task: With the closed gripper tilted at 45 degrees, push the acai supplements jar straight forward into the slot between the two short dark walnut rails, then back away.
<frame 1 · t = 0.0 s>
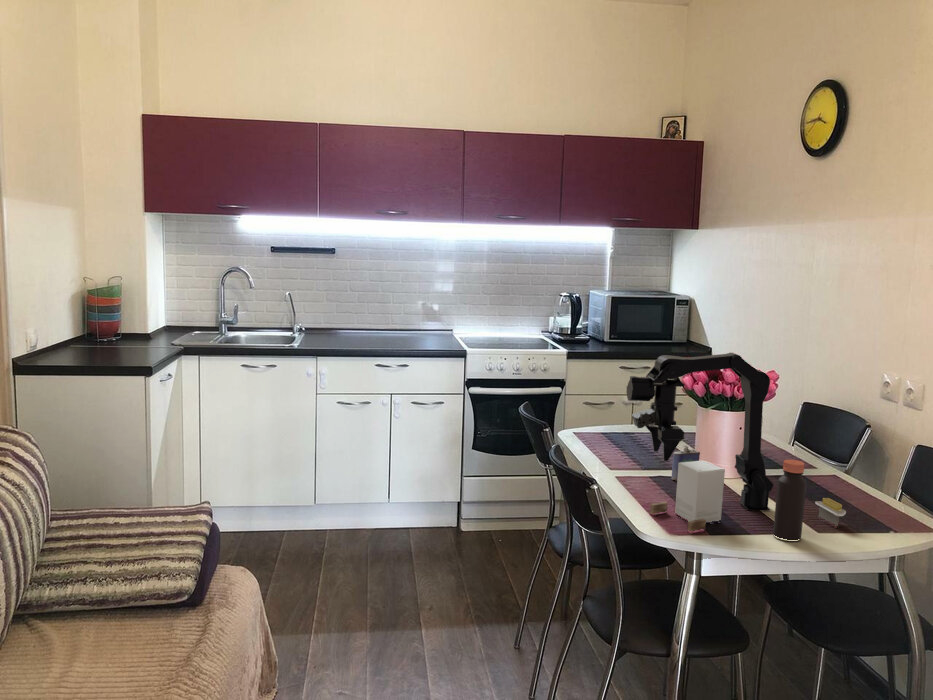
hand: (660, 456, 222), 15 cm above the table, tool pointing down, fingers open, 9 cm apart
supplement box: (697, 519, 216), on the table
walnut slot: (676, 522, 212), on the table
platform: (830, 525, 216), on the table
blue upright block: (684, 479, 250), on the table
bottle: (786, 538, 205), on the table
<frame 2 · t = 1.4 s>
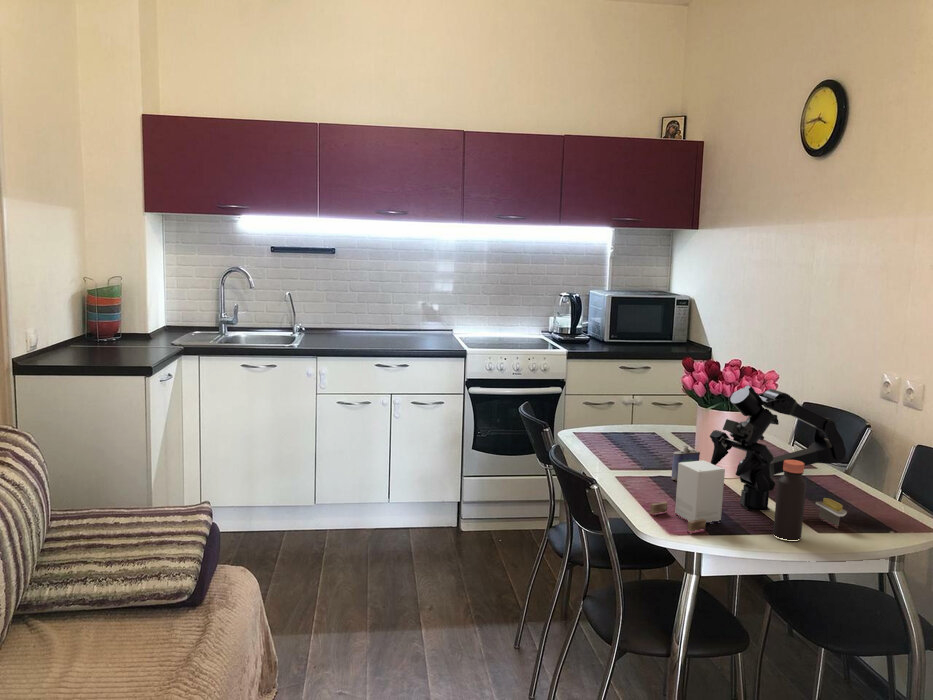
hand: (723, 470, 218), 12 cm above the table, tool tilted 45°, fingers open, 9 cm apart
nothing on the table moved.
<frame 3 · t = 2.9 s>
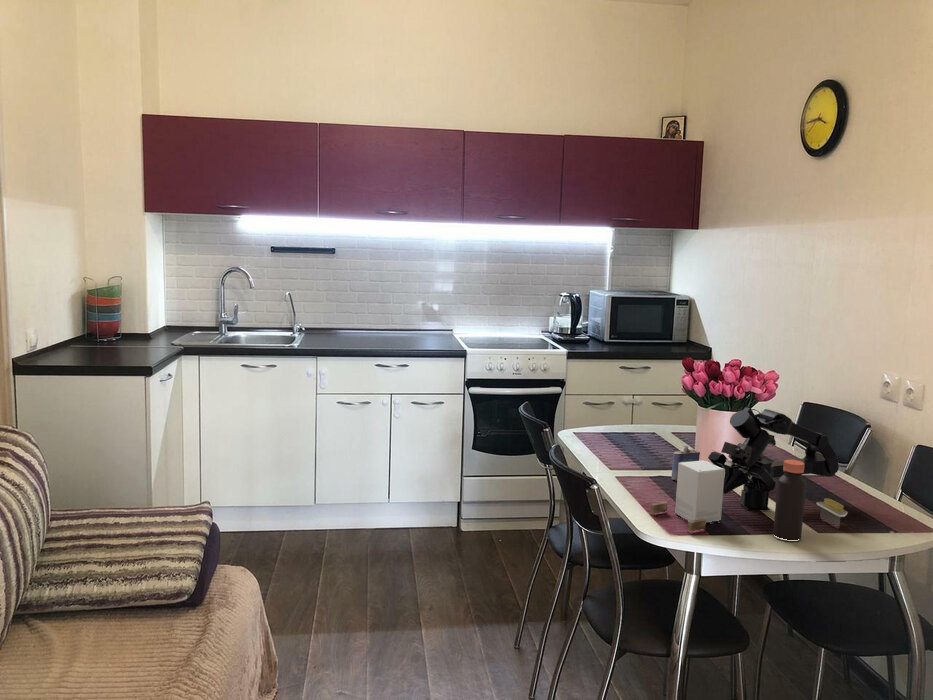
hand: (723, 492, 219), 6 cm above the table, tool tilted 40°, fingers closed
nothing on the table moved.
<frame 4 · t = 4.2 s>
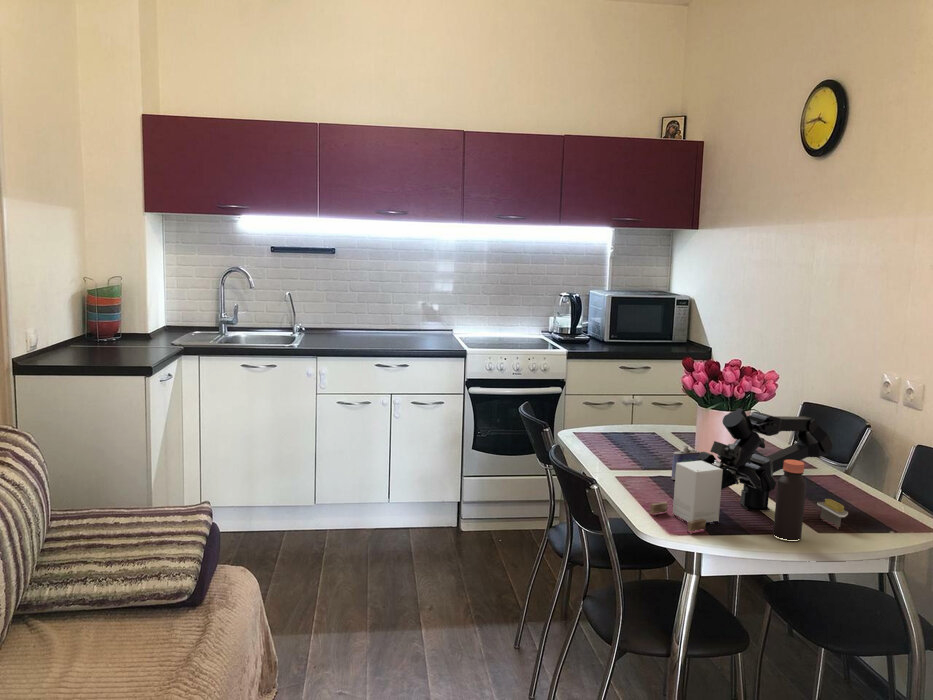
hand: (710, 492, 217), 7 cm above the table, tool tilted 45°, fingers closed
supplement box: (695, 519, 216), on the table, touching gripper
everything else where it was.
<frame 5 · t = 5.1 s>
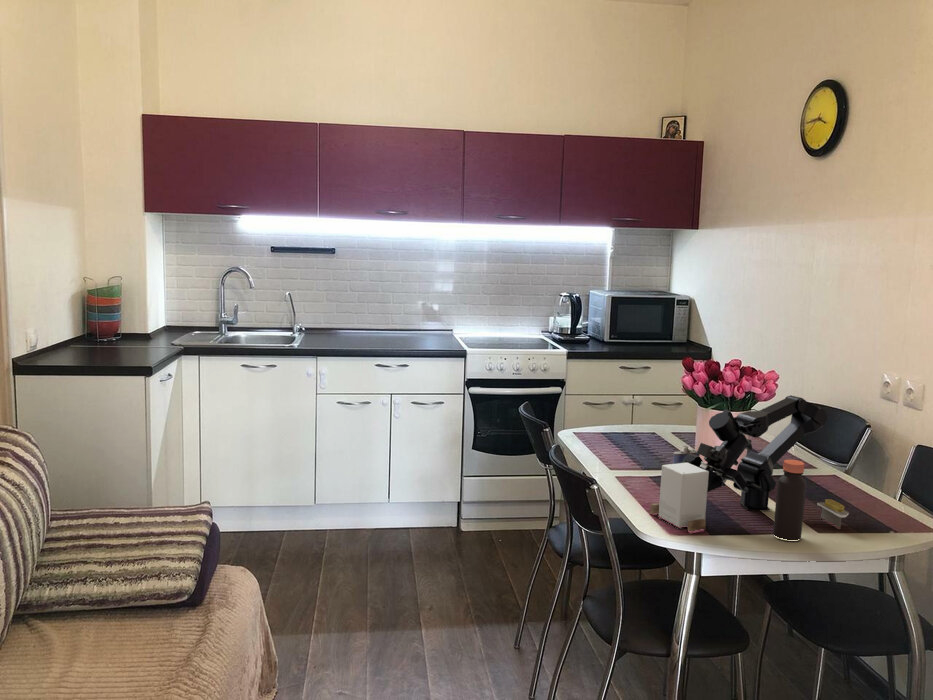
hand: (696, 495, 214), 7 cm above the table, tool tilted 45°, fingers closed, pressing on supplement box
supplement box: (681, 522, 213), on the table, touching gripper
everything else where it was.
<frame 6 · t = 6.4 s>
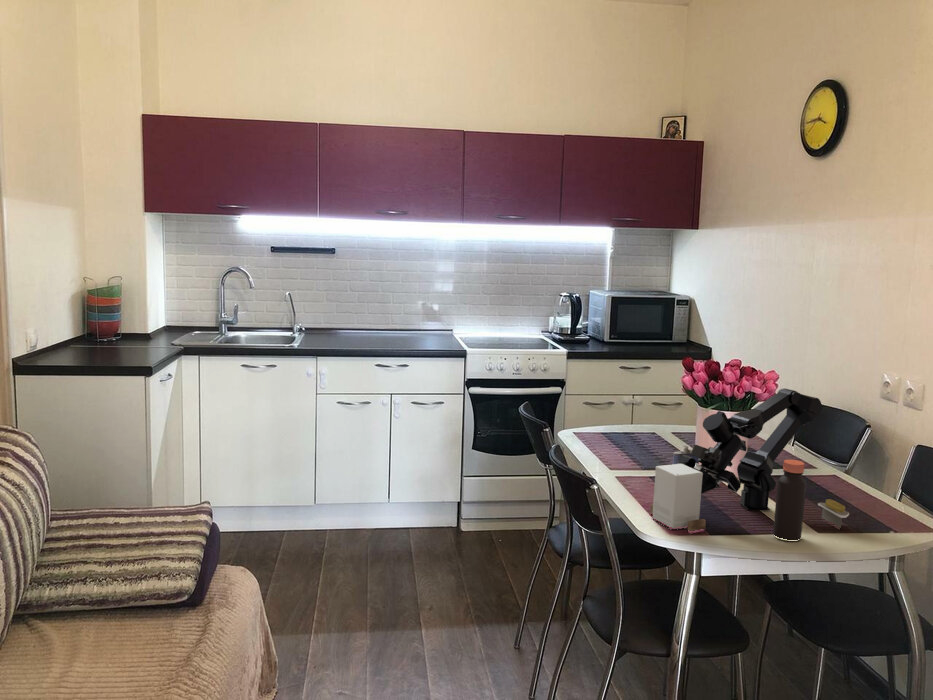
hand: (690, 496, 213), 7 cm above the table, tool tilted 45°, fingers closed
supplement box: (675, 523, 212), on the table
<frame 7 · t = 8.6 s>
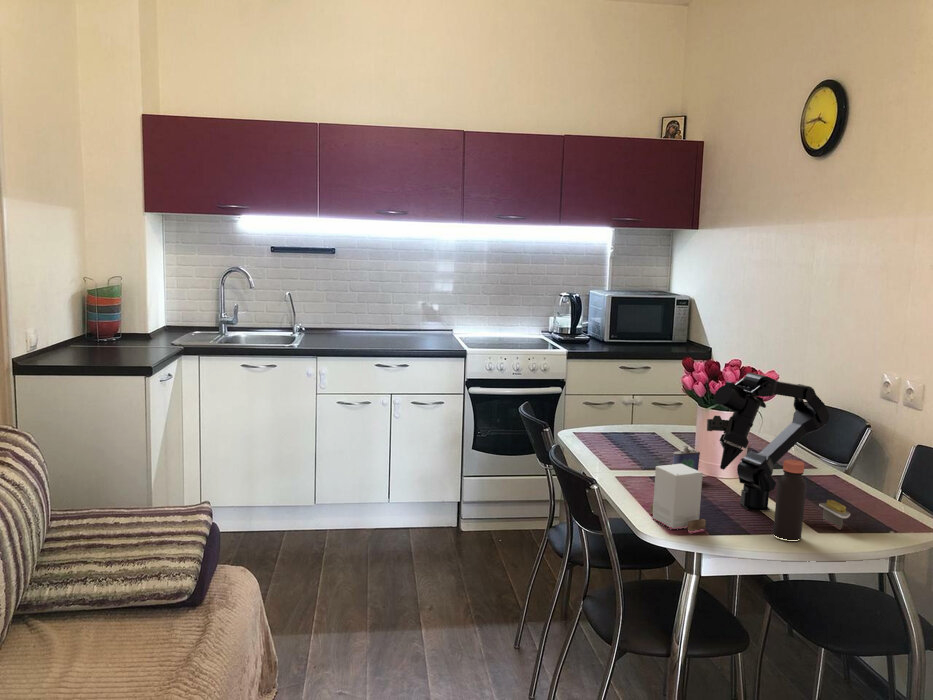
hand: (721, 469, 219), 13 cm above the table, tool tilted 25°, fingers closed
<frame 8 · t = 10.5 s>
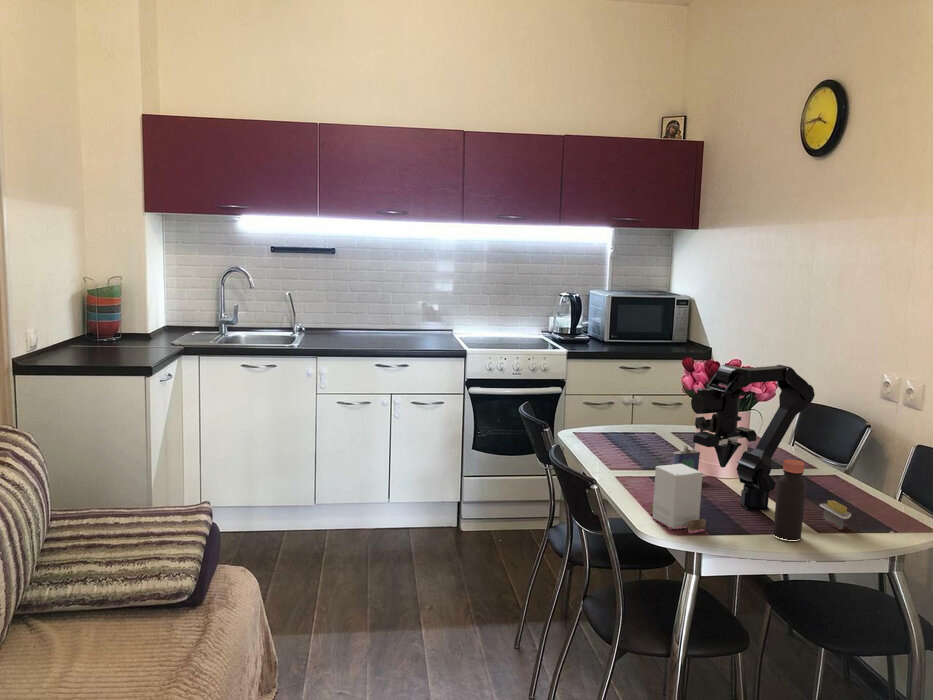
hand: (722, 466, 220), 13 cm above the table, tool pointing down, fingers closed
at the end: supplement box 0.6 cm from the walnut slot (horizontally); supplement box tilted 0°; supplement box moved 8.1 cm from its start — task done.
